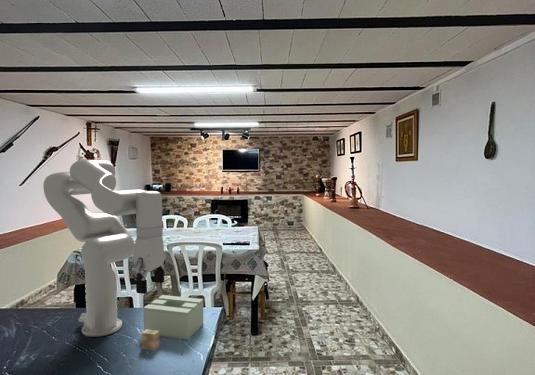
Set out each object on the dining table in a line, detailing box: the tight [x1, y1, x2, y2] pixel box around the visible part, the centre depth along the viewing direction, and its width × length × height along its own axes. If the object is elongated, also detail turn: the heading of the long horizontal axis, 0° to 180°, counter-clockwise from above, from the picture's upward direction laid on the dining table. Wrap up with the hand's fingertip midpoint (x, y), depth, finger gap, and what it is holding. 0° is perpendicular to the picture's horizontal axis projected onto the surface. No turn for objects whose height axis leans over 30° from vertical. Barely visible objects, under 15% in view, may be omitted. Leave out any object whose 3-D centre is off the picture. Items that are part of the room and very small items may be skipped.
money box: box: [142, 294, 204, 341], centre depth 121 cm, size 16×12×9 cm
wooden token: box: [141, 329, 160, 351], centre depth 109 cm, size 4×2×5 cm, turn 76°
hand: (150, 287), depth 108 cm, fingers open, 9 cm apart
